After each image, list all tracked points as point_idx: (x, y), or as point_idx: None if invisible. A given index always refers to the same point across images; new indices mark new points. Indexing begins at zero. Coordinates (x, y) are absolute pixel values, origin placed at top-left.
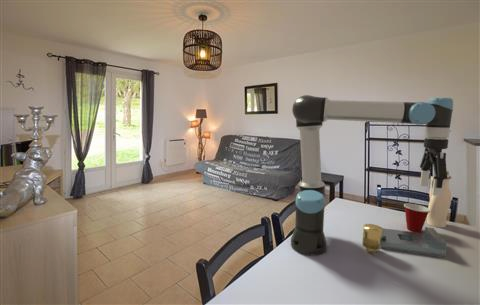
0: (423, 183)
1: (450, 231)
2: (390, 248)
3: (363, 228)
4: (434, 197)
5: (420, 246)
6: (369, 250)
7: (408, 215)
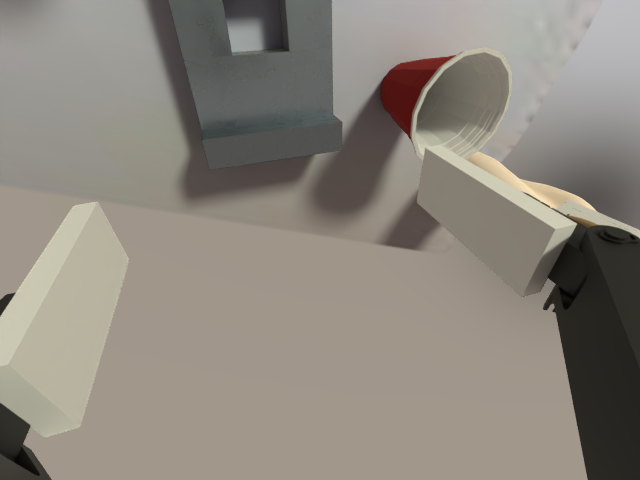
0: (435, 178)
1: (409, 199)
2: None
3: None
4: None
5: (190, 70)
6: None
7: (426, 66)
